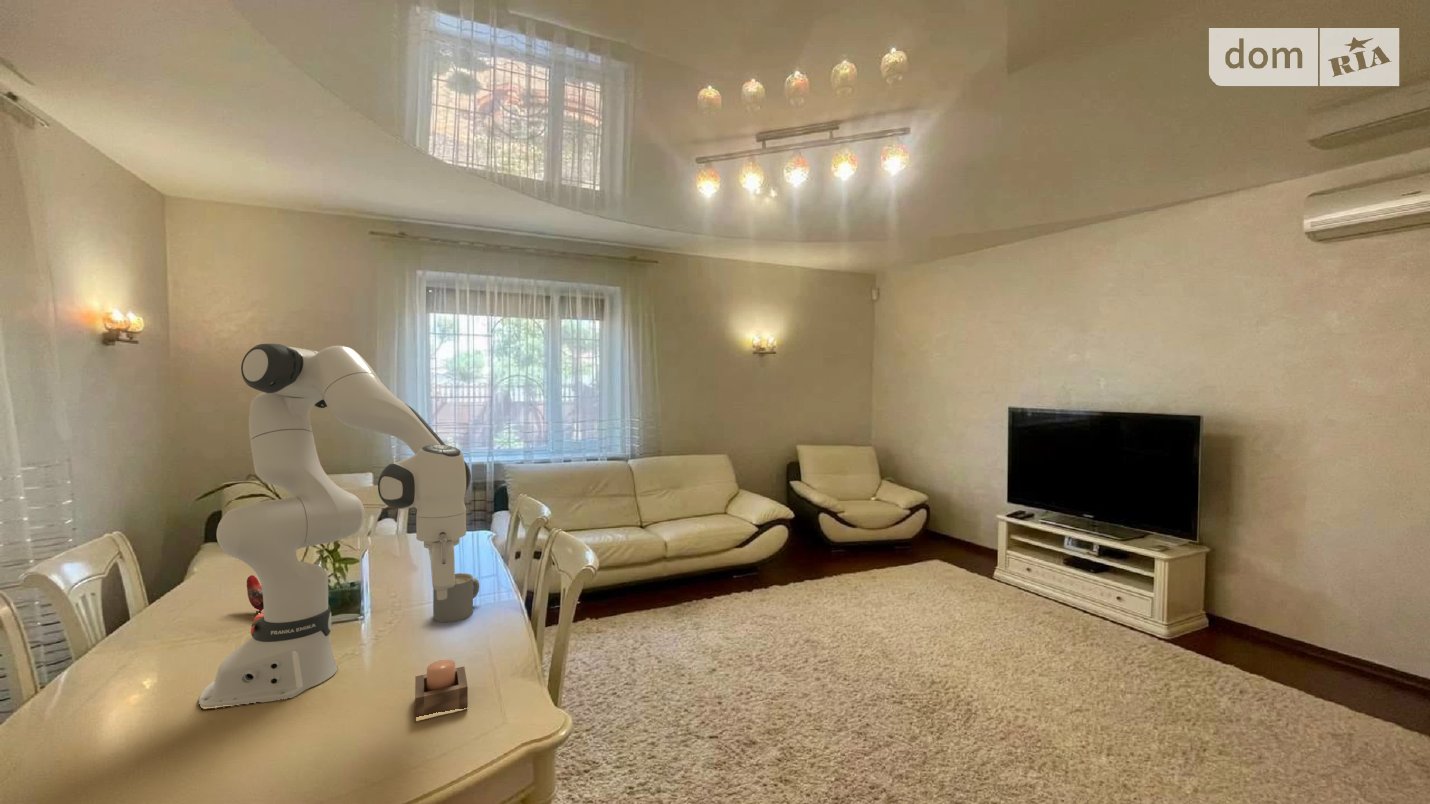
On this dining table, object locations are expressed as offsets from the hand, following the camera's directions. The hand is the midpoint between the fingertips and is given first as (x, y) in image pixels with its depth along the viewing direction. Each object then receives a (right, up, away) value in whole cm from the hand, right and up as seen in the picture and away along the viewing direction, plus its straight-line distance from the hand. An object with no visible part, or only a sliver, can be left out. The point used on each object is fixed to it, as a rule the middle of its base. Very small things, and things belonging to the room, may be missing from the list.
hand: (441, 597), depth 109 cm
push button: (0, -18, 0) cm, 18 cm away
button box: (0, -21, 0) cm, 21 cm away
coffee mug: (-18, -21, +45) cm, 53 cm away
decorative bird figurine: (-70, -20, +42) cm, 84 cm away
